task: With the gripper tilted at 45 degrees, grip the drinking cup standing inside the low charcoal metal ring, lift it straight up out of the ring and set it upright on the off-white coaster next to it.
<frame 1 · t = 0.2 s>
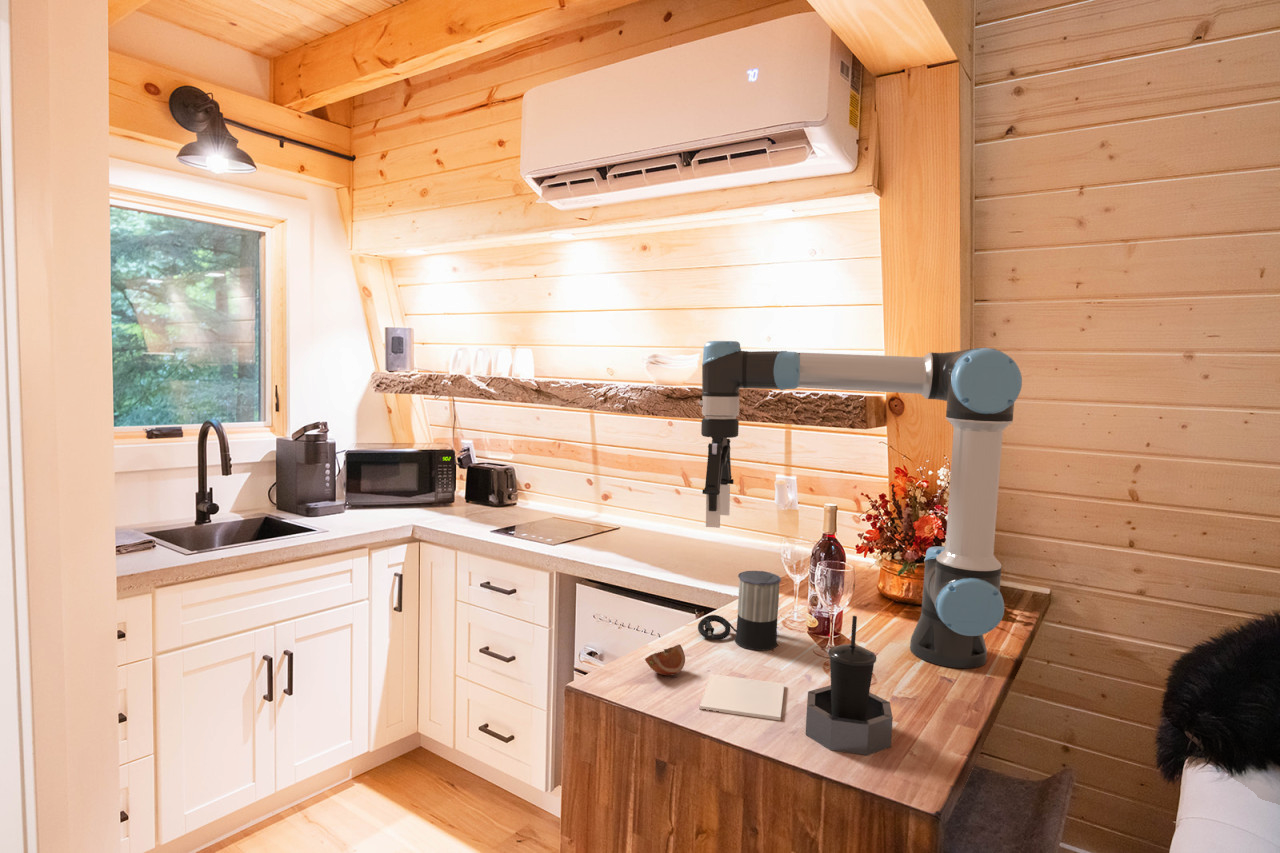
hand: (718, 520, 159), 28 cm above the counter, tool pointing down, fingers open, 13 cm apart
milk frother: (737, 641, 169), on the counter
ring holder: (847, 732, 129), on the counter
drinking cup: (846, 733, 129), resting in ring holder
fruit slice: (663, 674, 150), on the counter
coaster: (743, 697, 141), on the counter
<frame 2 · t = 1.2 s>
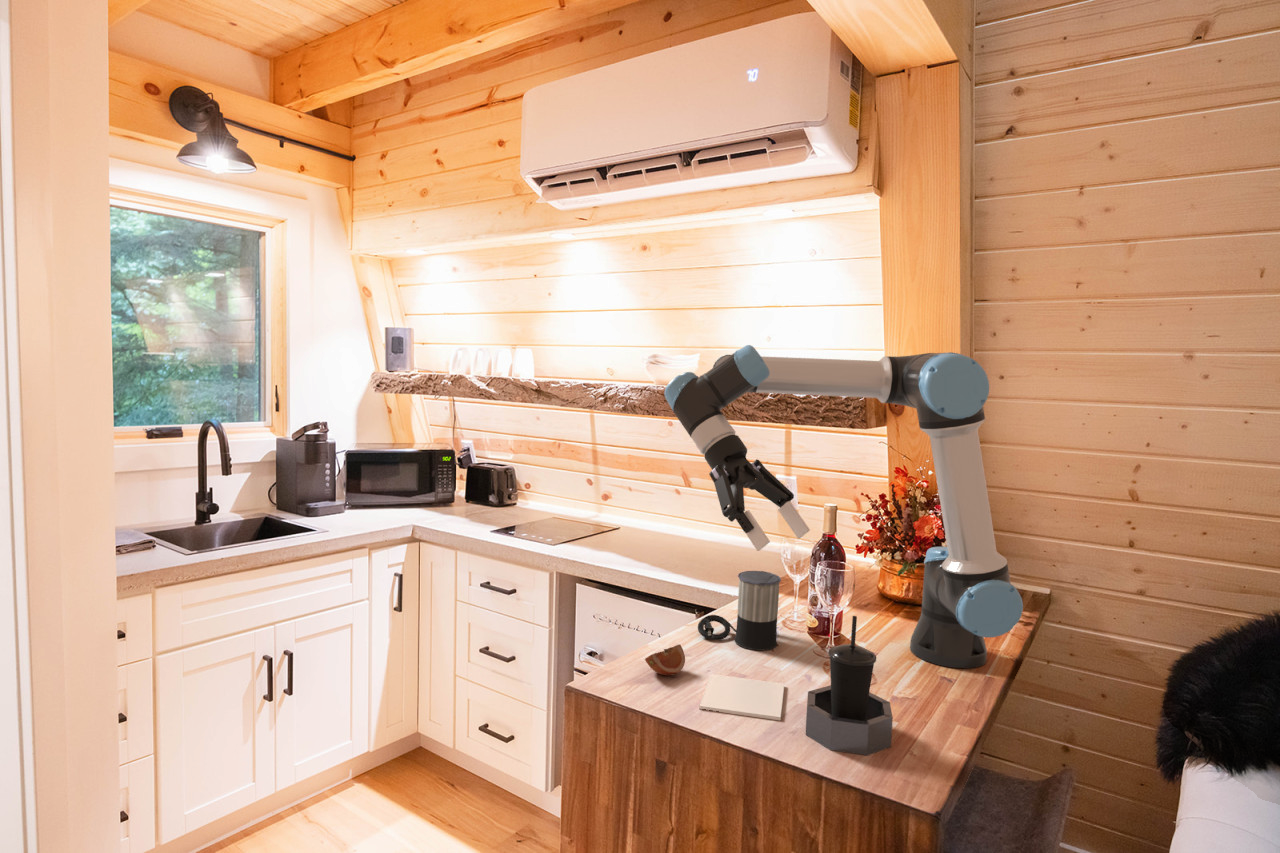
hand: (784, 540, 136), 30 cm above the counter, tool tilted 45°, fingers open, 13 cm apart
nothing on the counter moved.
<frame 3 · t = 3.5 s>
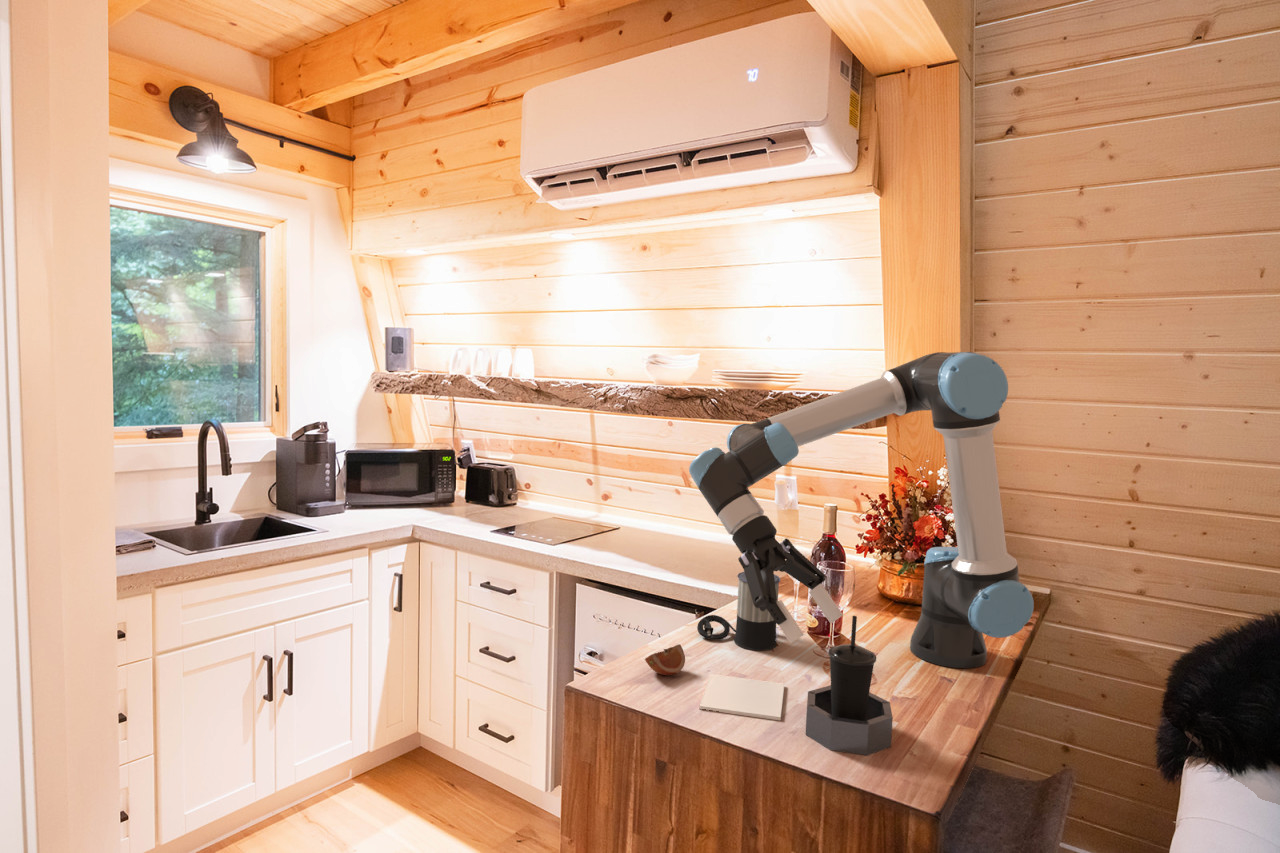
hand: (818, 629, 131), 16 cm above the counter, tool tilted 45°, fingers open, 13 cm apart
nothing on the counter moved.
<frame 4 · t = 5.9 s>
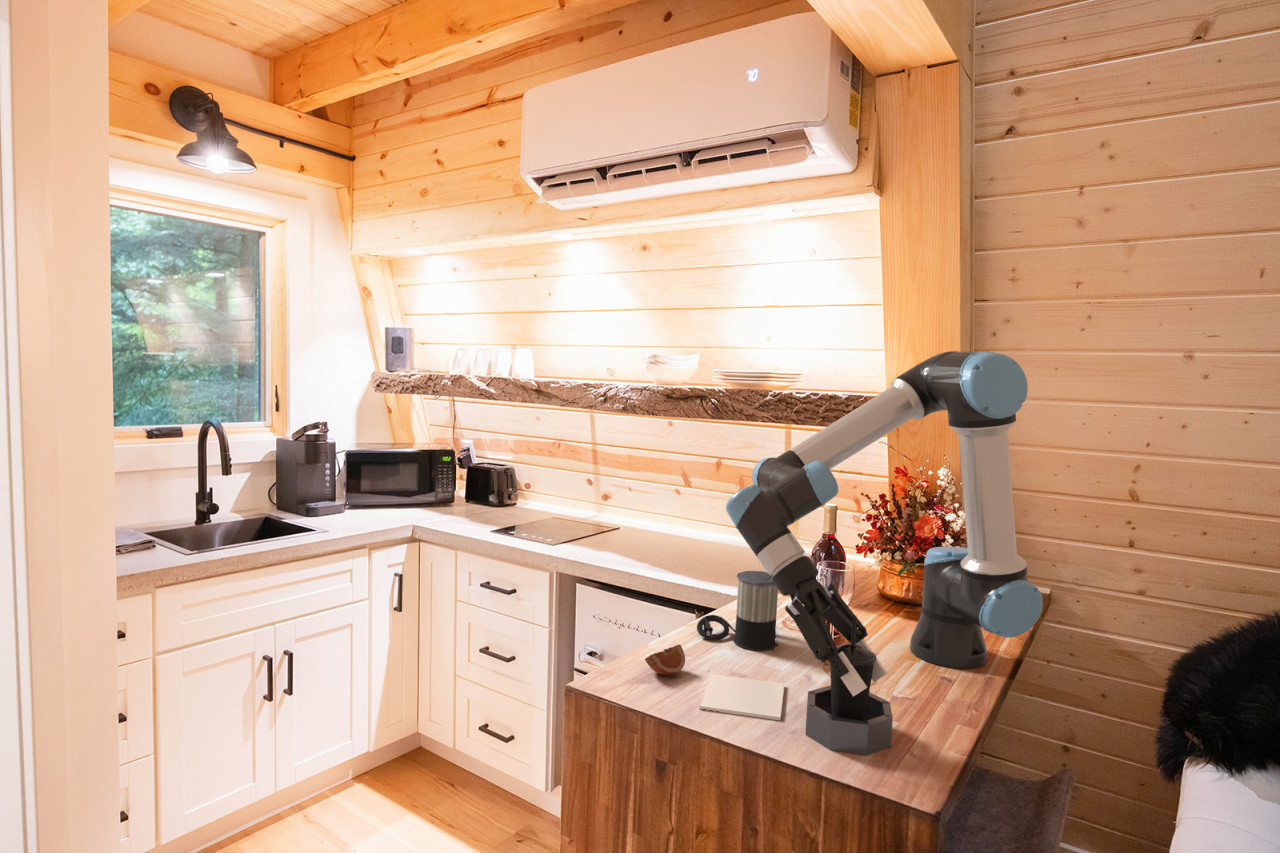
hand: (870, 684, 126), 10 cm above the counter, tool tilted 45°, fingers closed on drinking cup, 7 cm apart
drinking cup: (846, 733, 129), resting in ring holder, touching gripper
everything else where it was.
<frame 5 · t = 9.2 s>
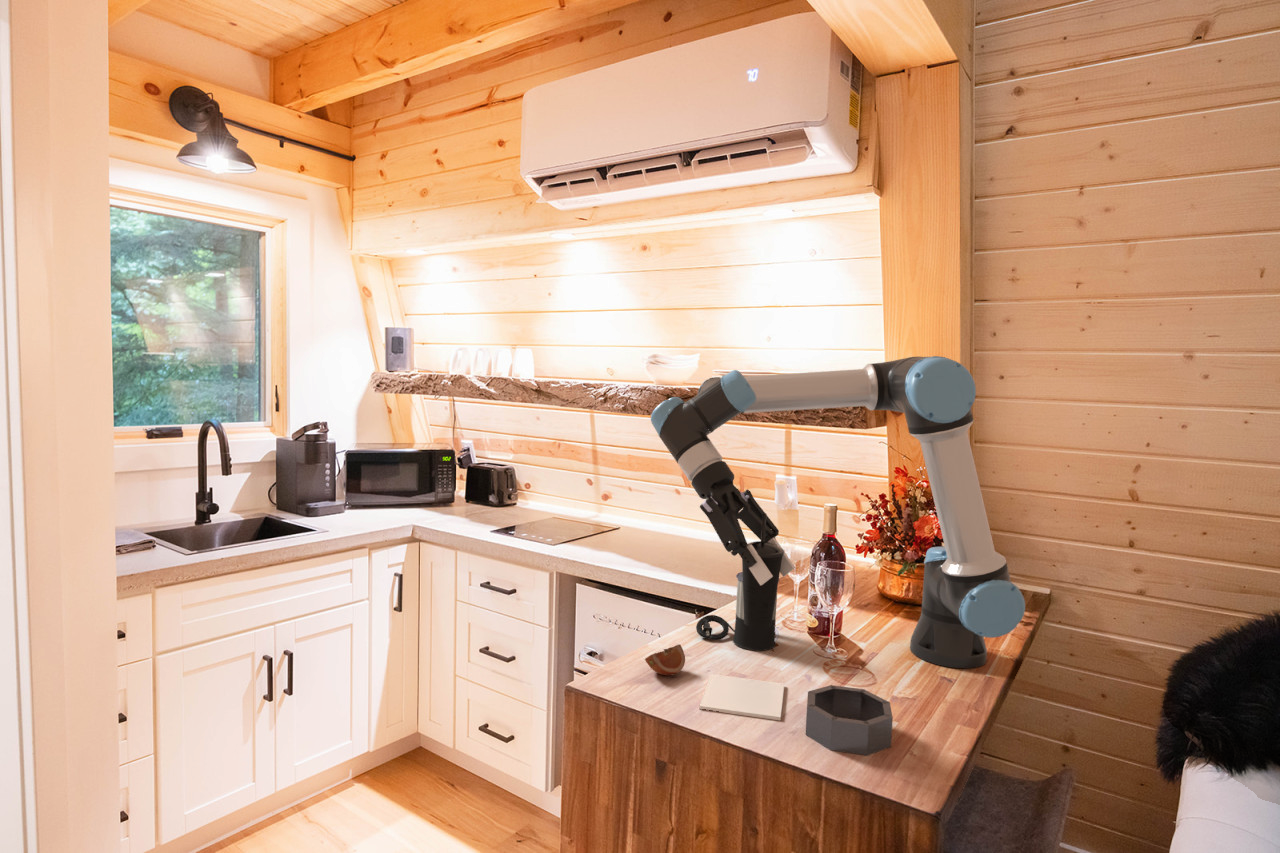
hand: (778, 576, 134), 24 cm above the counter, tool tilted 45°, fingers closed on drinking cup, 7 cm apart
drinking cup: (757, 625, 138), point 14 cm above the counter, touching gripper
everything else where it was.
when the fingers open (11 cm above the counter, at t = 12.8 s): drinking cup stays where it is, resting on coaster.
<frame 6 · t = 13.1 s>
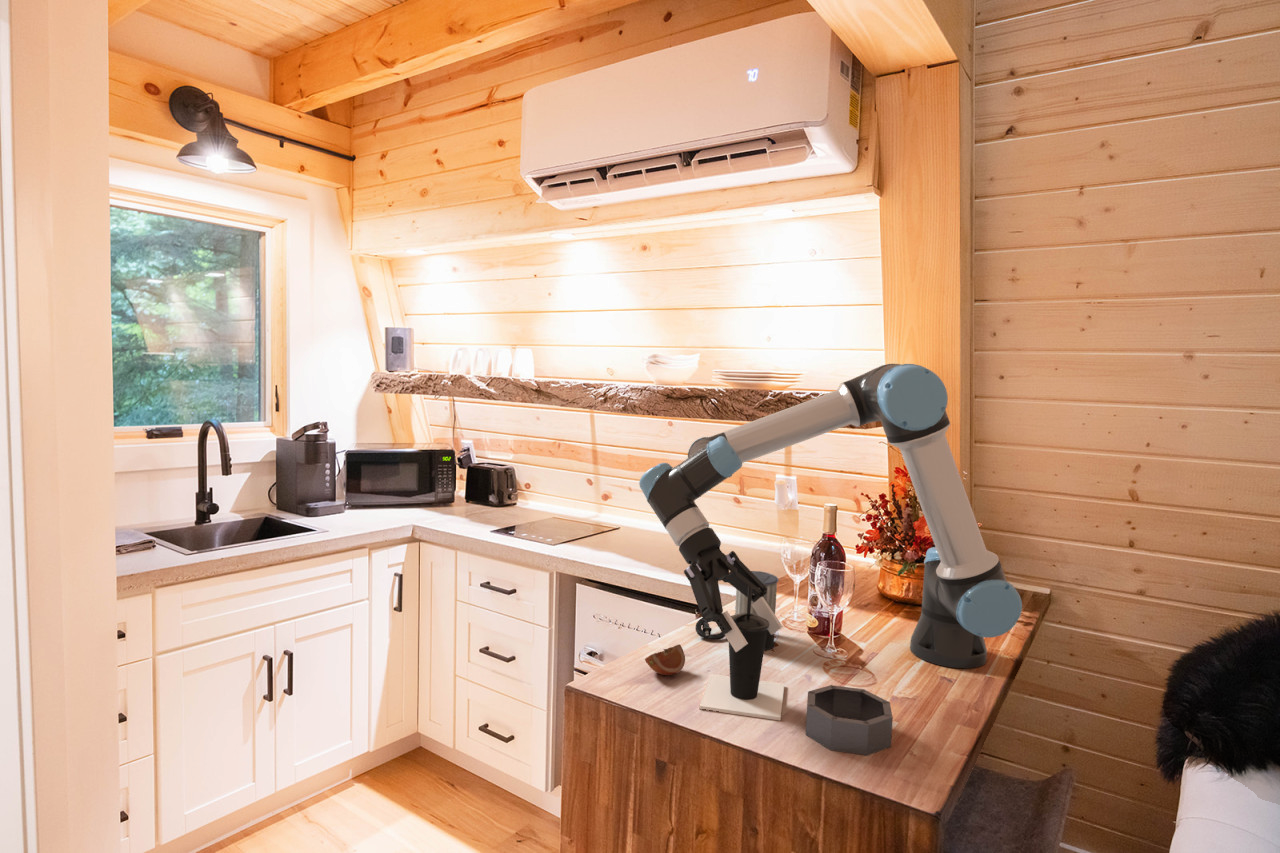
hand: (760, 639, 138), 12 cm above the counter, tool tilted 45°, fingers open, 11 cm apart
drinking cup: (743, 695, 141), resting on coaster
everything else where it was.
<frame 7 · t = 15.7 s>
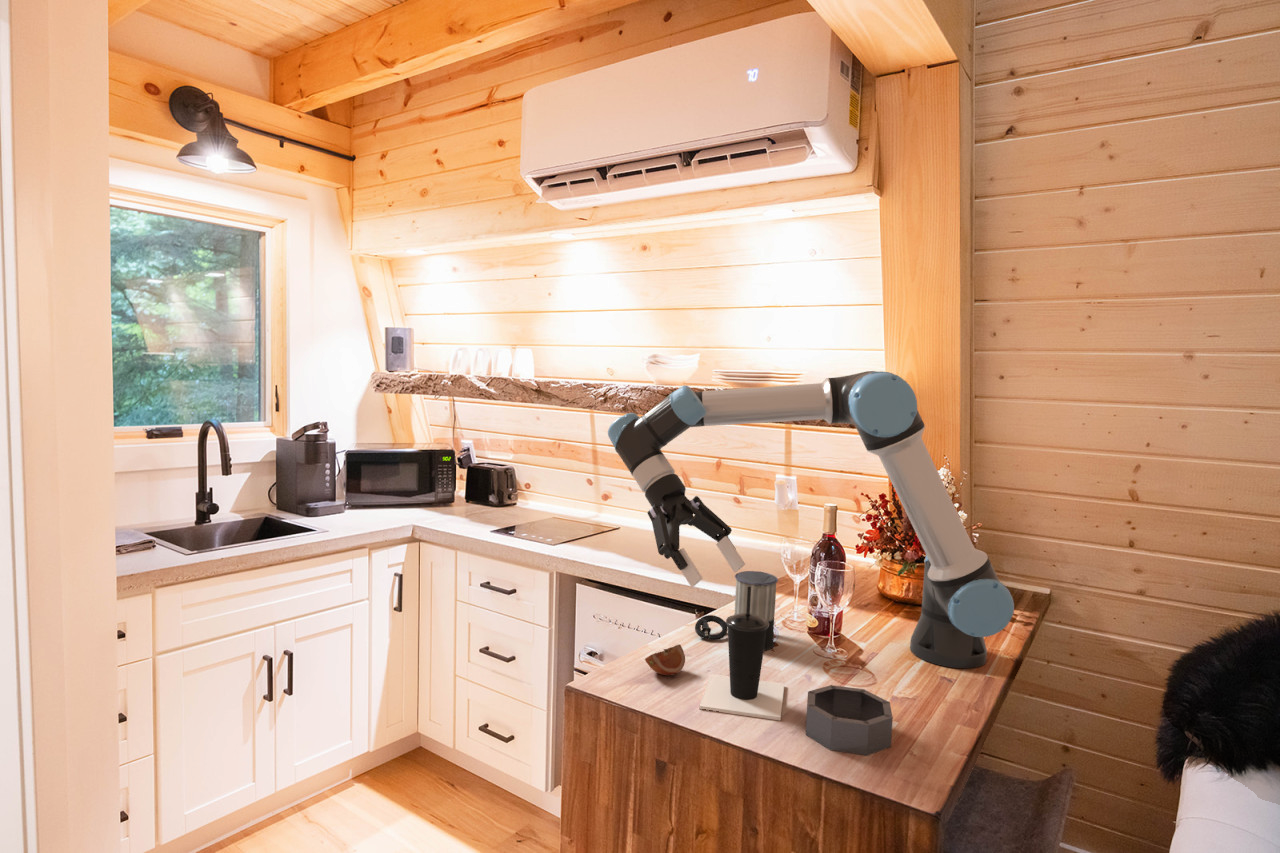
hand: (719, 575, 143), 21 cm above the counter, tool tilted 45°, fingers open, 13 cm apart
nothing on the counter moved.
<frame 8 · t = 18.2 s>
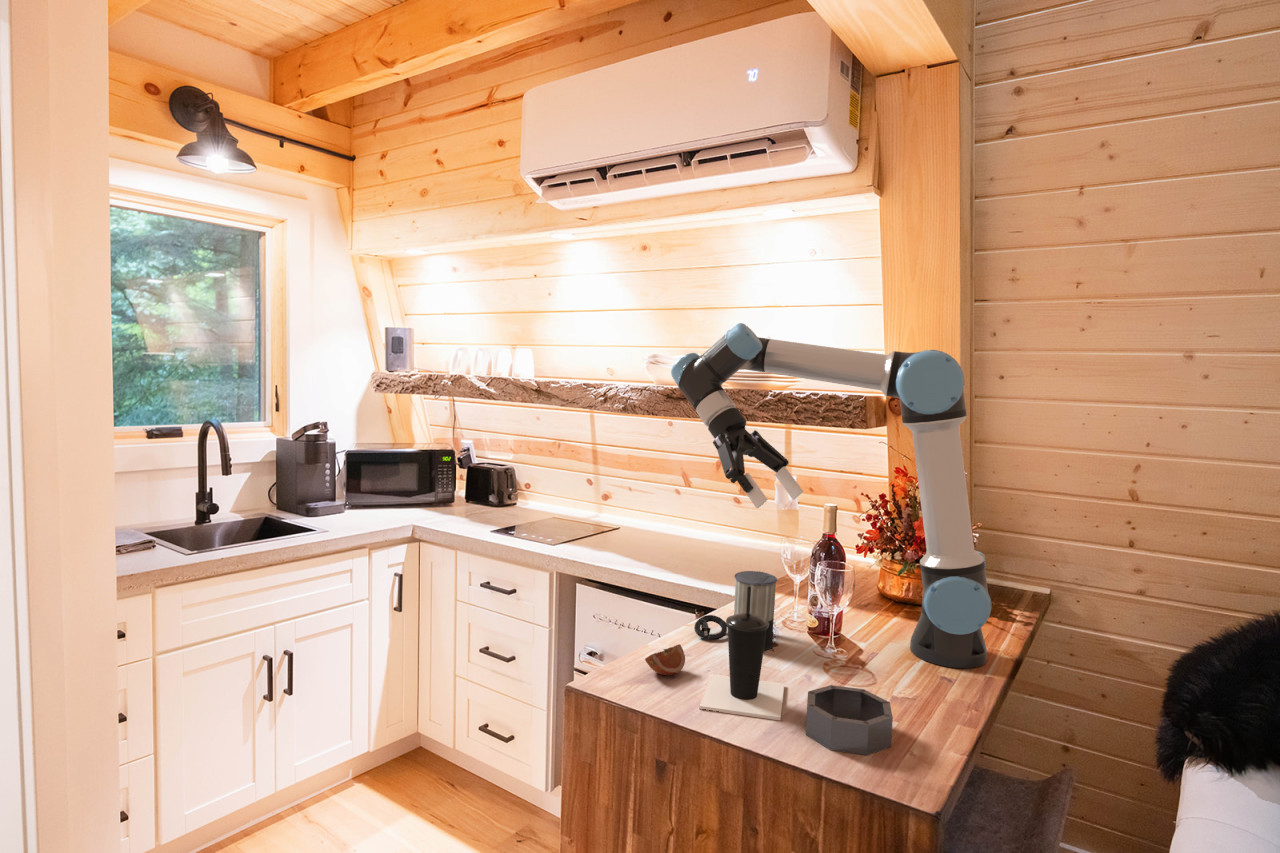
hand: (780, 500, 153), 34 cm above the counter, tool tilted 45°, fingers open, 13 cm apart
nothing on the counter moved.
at the end: drinking cup inside the target area on the coaster (0.1 cm from its centre), point 0.4 cm above the coaster's base; drinking cup tilted 0°; the gripper is holding nothing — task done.
